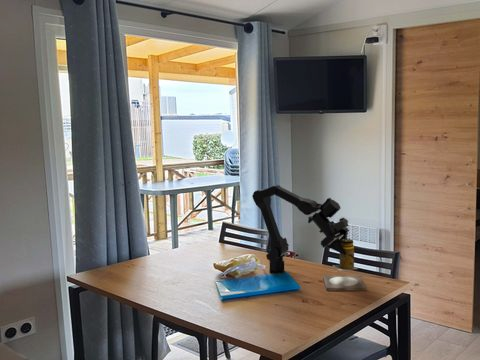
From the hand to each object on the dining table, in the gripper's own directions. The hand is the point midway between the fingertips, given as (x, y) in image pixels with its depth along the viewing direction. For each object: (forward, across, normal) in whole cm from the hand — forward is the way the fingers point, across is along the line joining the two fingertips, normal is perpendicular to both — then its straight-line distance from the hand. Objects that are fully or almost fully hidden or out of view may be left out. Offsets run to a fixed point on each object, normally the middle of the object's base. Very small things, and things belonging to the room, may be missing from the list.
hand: (348, 252), depth 202 cm
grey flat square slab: (+9, -3, +10) cm, 14 cm away
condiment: (+4, -1, +6) cm, 7 cm away
